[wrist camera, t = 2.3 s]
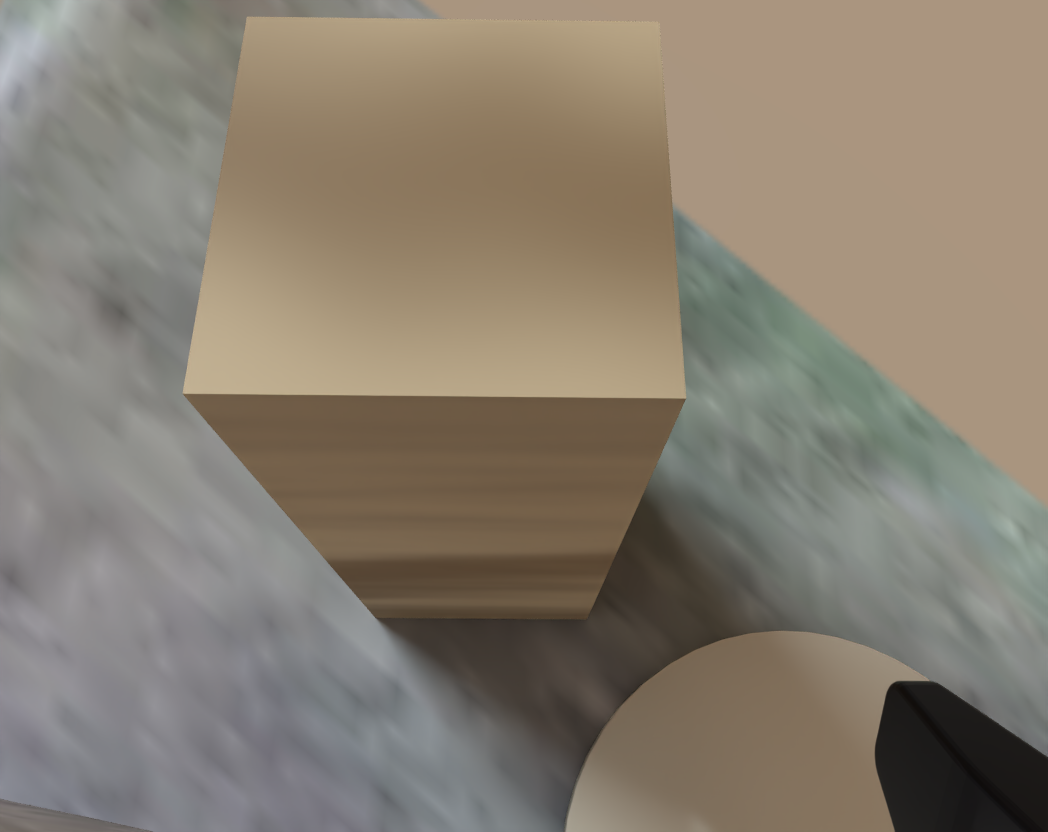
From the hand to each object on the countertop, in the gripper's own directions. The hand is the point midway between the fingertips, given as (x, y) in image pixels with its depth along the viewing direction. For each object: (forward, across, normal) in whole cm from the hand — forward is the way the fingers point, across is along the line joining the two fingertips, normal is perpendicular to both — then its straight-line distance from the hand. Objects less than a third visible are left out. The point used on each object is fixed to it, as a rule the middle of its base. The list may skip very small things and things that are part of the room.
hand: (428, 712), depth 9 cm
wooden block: (+12, 0, +5) cm, 13 cm away
